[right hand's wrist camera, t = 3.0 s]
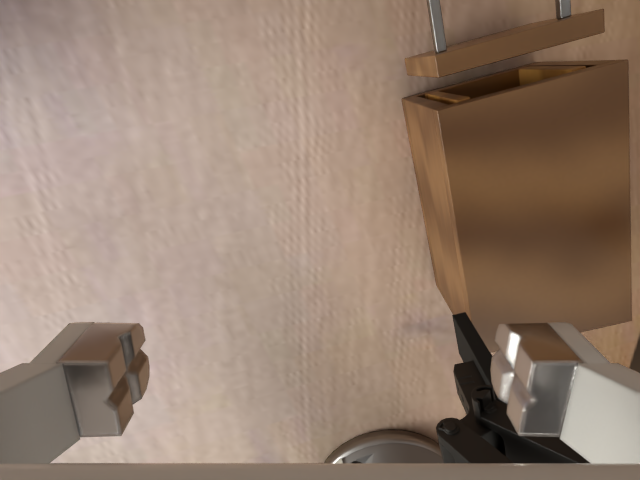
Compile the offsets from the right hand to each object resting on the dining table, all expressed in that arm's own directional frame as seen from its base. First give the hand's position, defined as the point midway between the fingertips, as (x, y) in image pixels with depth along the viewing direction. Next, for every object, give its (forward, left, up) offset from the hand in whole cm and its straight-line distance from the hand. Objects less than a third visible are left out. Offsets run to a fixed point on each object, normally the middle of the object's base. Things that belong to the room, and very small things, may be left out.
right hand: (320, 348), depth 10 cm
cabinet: (+9, +11, -28) cm, 31 cm away
